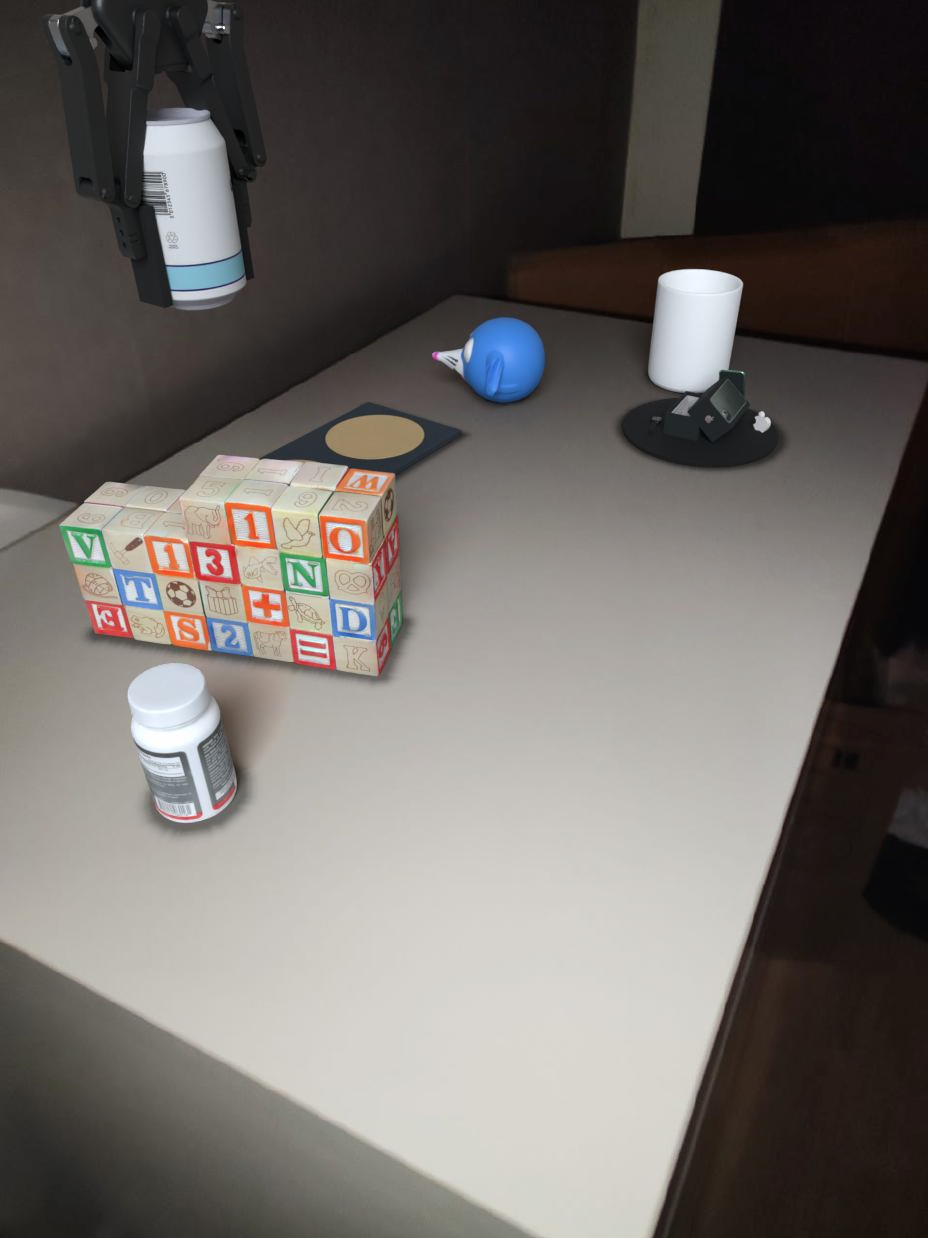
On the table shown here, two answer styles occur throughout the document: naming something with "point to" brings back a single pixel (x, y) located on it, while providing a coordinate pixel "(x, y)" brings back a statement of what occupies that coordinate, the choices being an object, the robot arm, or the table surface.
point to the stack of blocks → (247, 562)
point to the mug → (693, 328)
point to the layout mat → (369, 440)
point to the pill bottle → (181, 742)
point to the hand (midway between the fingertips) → (198, 288)
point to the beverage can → (193, 207)
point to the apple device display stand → (703, 426)
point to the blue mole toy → (499, 360)
